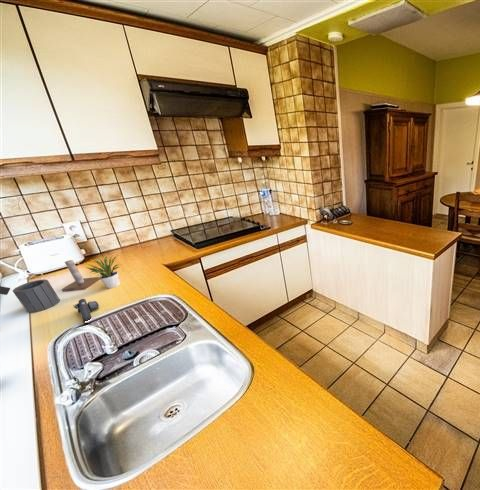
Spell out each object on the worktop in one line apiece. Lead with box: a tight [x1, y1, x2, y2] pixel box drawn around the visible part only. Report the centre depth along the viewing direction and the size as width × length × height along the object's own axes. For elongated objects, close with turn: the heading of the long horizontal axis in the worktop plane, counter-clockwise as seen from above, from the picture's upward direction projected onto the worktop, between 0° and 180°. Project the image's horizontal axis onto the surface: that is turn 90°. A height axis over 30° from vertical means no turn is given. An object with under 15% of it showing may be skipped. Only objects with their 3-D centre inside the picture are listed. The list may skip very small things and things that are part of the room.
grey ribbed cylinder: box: [12, 278, 61, 314], centre depth 119 cm, size 10×10×11 cm
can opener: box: [73, 298, 99, 323], centre depth 111 cm, size 18×7×6 cm, turn 44°
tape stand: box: [61, 259, 101, 293], centre depth 134 cm, size 10×10×14 cm
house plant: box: [84, 253, 122, 289], centre depth 133 cm, size 14×14×16 cm
